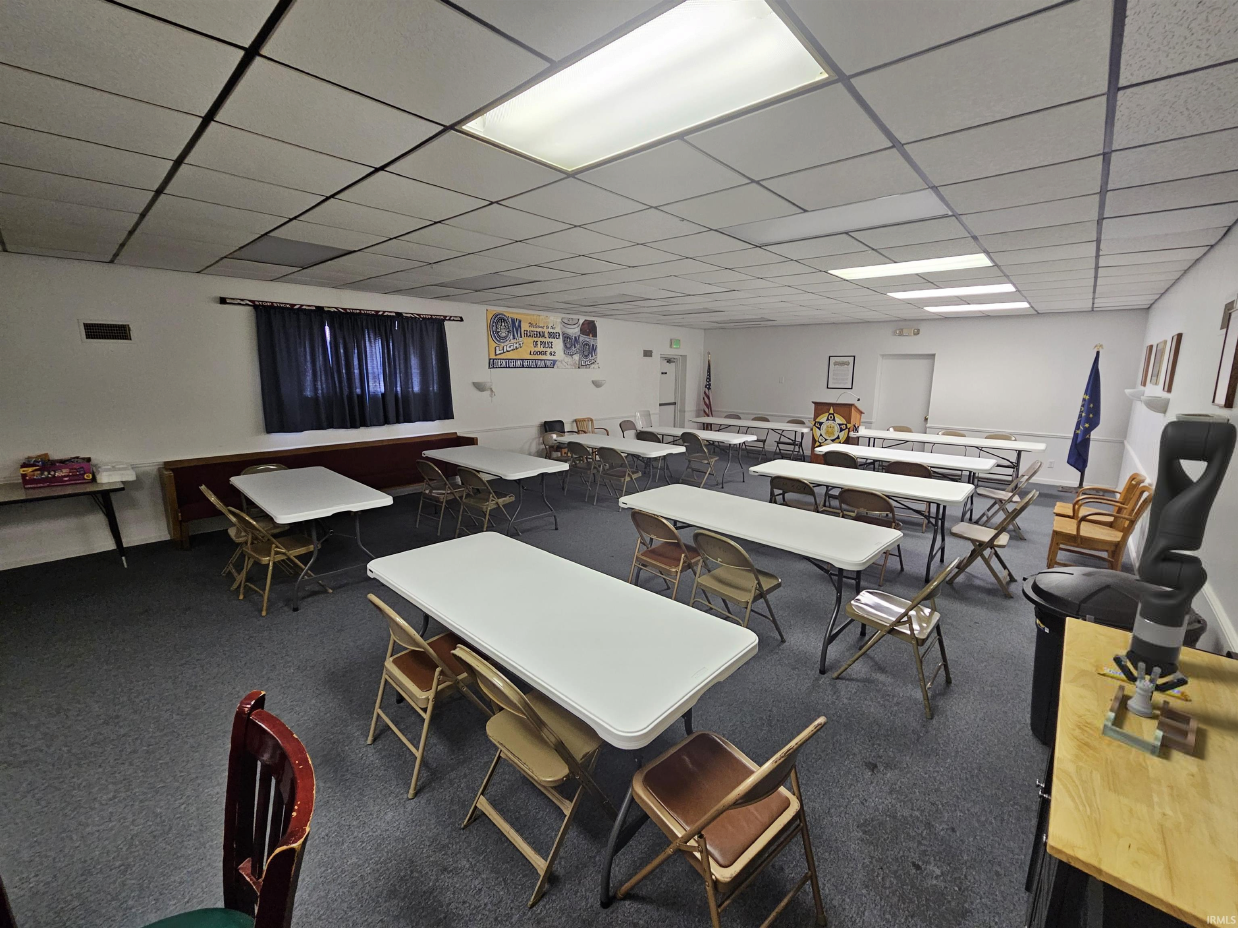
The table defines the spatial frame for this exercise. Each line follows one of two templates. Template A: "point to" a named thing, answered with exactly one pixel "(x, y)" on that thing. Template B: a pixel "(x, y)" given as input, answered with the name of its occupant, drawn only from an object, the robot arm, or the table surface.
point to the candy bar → (1121, 677)
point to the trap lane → (1174, 726)
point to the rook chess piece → (1141, 699)
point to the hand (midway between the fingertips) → (1142, 700)
